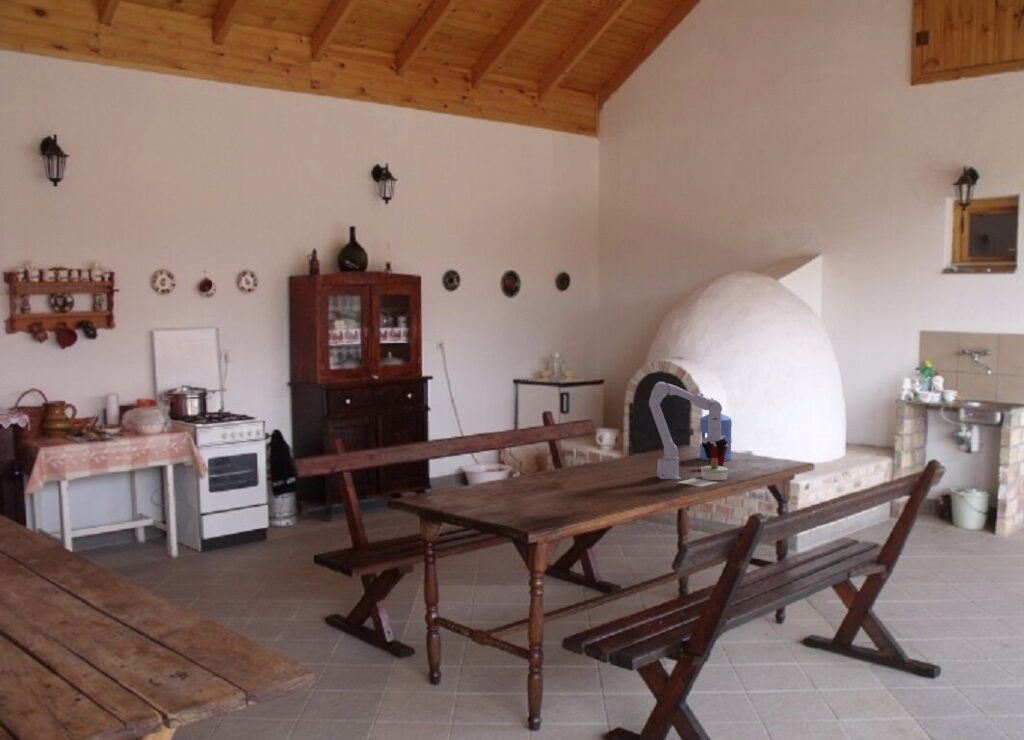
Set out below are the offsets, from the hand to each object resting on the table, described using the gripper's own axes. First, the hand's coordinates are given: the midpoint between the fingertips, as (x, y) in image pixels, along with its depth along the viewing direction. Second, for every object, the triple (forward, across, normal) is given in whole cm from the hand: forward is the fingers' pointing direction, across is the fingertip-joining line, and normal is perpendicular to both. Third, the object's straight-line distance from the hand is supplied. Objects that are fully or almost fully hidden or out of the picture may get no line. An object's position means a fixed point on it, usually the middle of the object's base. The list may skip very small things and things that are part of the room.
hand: (714, 457), depth 419 cm
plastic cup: (+10, +22, +16) cm, 29 cm away
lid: (+7, 0, 0) cm, 7 cm away
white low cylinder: (+10, 0, 0) cm, 10 cm away
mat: (+10, -13, -2) cm, 17 cm away
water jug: (+10, +40, +32) cm, 52 cm away
